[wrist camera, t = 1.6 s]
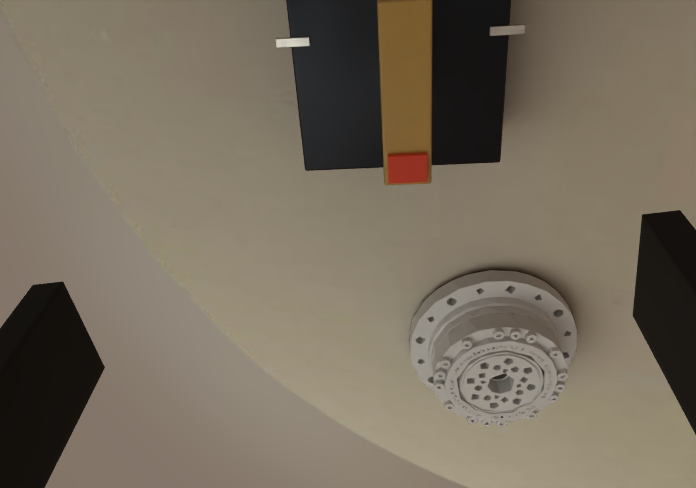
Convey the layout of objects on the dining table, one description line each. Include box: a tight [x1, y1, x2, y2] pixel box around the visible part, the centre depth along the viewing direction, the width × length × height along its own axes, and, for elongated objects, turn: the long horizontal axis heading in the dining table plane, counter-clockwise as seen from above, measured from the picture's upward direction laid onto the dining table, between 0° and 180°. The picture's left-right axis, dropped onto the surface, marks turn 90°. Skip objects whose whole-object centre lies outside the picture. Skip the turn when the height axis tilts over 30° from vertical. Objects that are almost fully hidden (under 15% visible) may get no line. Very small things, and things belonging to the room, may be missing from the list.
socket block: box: [275, 0, 525, 171], centre depth 28 cm, size 12×10×4 cm
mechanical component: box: [409, 270, 578, 427], centre depth 38 cm, size 10×4×10 cm
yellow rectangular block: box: [377, 0, 432, 185], centre depth 23 cm, size 6×2×8 cm, turn 4°
